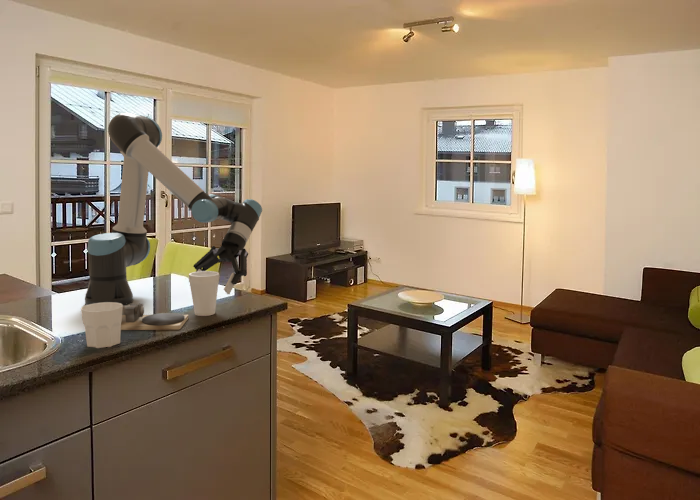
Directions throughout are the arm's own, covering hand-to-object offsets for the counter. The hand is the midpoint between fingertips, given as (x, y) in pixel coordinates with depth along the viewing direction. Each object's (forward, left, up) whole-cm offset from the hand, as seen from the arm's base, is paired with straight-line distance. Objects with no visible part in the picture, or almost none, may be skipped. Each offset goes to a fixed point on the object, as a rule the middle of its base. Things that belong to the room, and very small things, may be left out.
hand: (209, 289), depth 176 cm
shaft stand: (-16, -12, -8) cm, 22 cm away
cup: (-22, -30, -8) cm, 39 cm away
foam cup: (-1, 0, -8) cm, 8 cm away
